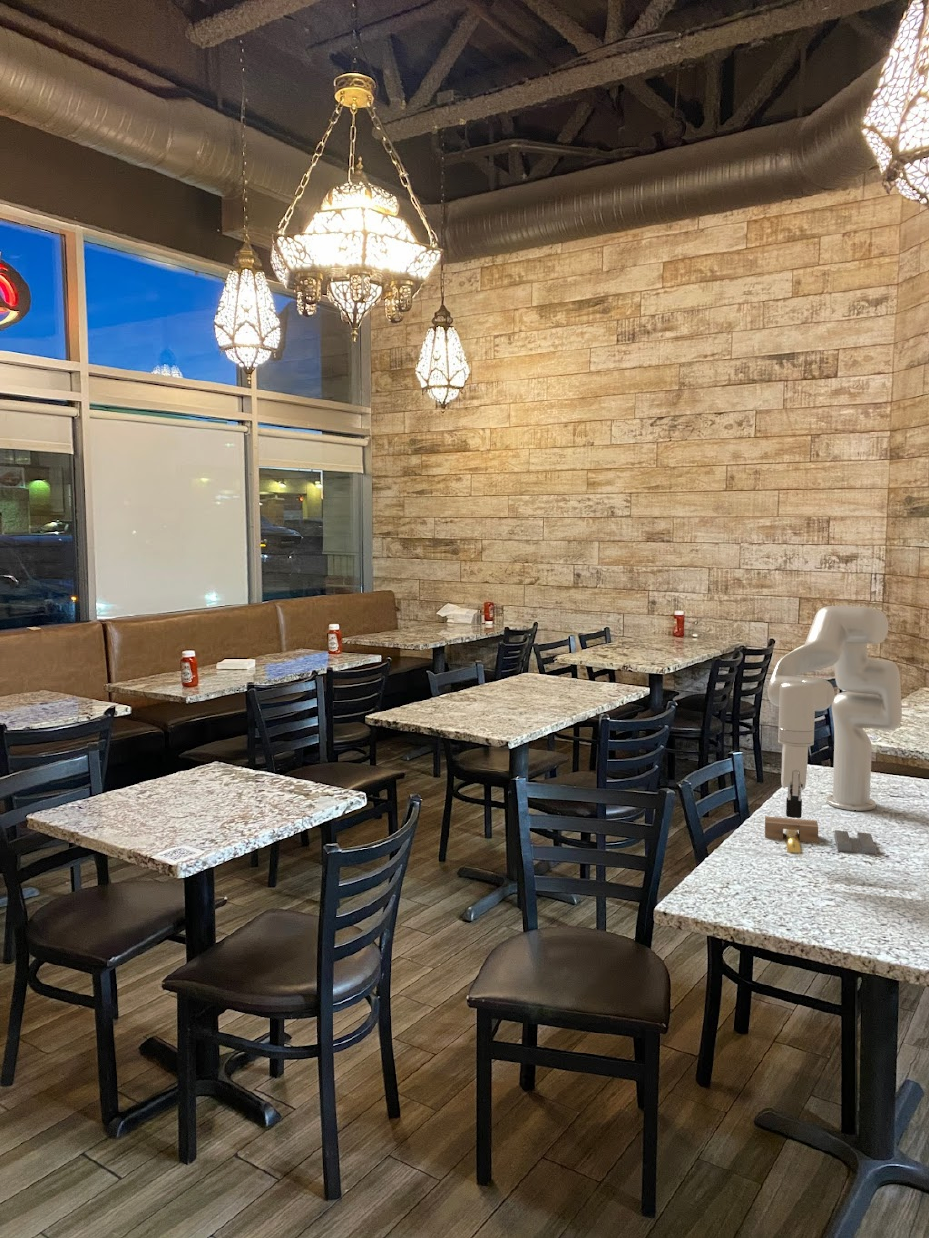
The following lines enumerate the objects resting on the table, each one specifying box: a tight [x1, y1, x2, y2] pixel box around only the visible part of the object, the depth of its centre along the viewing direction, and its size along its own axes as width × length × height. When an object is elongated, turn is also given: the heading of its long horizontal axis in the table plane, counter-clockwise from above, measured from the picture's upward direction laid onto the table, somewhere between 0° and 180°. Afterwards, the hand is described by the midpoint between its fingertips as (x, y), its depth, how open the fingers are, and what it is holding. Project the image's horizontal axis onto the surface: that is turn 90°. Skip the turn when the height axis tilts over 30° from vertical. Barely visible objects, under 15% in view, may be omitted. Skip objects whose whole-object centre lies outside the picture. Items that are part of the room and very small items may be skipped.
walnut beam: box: [764, 815, 819, 843], centre depth 214 cm, size 5×12×5 cm, turn 72°
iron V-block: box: [833, 829, 877, 856], centre depth 207 cm, size 10×8×3 cm
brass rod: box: [784, 829, 802, 854], centre depth 210 cm, size 14×3×3 cm, turn 162°
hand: (793, 816), depth 198 cm, fingers closed
